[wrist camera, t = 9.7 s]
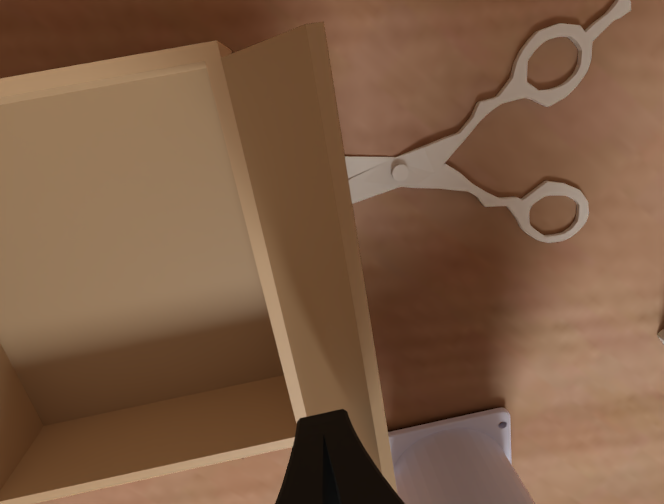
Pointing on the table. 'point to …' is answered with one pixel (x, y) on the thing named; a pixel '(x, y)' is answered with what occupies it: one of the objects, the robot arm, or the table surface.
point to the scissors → (429, 160)
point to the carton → (132, 280)
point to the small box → (661, 335)
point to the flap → (310, 225)
